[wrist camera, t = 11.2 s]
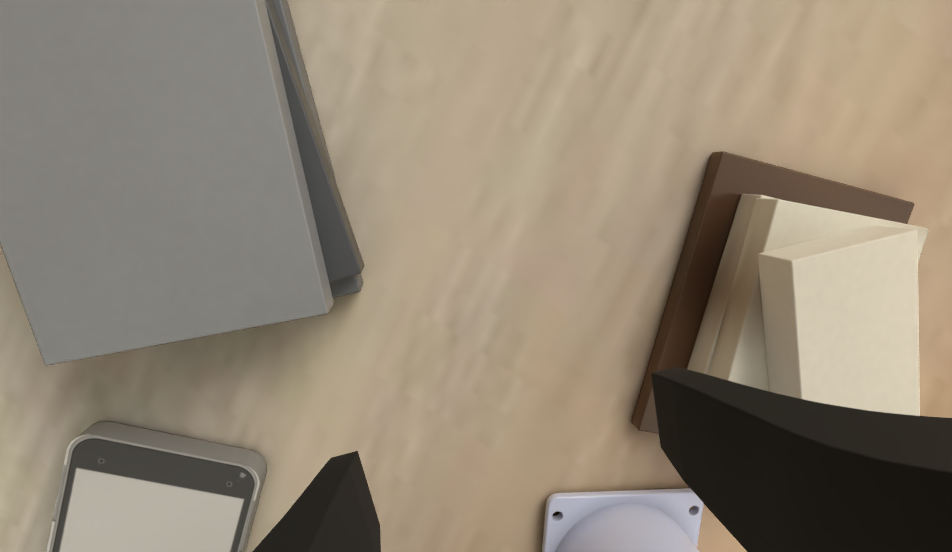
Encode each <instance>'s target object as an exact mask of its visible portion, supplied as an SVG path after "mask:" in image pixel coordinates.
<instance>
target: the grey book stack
mask: <svg viewBox="0 0 952 552" xmlns="http://www.w3.org/2000/svg"><path fill="white" fill-rule="evenodd" d="M0 244H1V247H2V249H3V252H4V255H5V258H6V260H7V263H8V266H9V268H10V271H11V274H12V277H13V279H14V282H15V285H16V288H17V290H18V293H19V296H20V298H21V301H22V304H23V307H24V309H25V312H26V315H27V317H28V320H29V323H30V326H31V328H32V331H33V334H34V336H35V339H36V342H37V345H38V347H39V350H40V353H41V356H42V358H43V361H44V364H45V365H46V366H48V365H54V364H59V363H64V362H70V361H75V360H81V359H86V358H91V357H97V356H102V355H108V354H113V353H118V352H124V351H129V350H135V349H140V348H146V347H151V346H156V345H162V344H167V343H173V342H178V341H183V340H189V339H194V338H200V337H205V336H210V335H216V334H221V333H227V332H232V331H238V330H243V329H248V328H254V327H259V326H265V325H270V324H275V323H281V322H286V321H292V320H297V319H302V318H308V317H313V316H319V315H324V314H327V313H328V312H329V310H330V309H331V307H332V305H333V304H334V302H333V298H335V297H339V296H344V295H348V294H352V293H356V292H359V291H360V290H361V288H362V286H363V280H362V277H361V272H362V270H363V268H364V263H363V260H362V257H361V254H360V251H359V248H358V245H357V242H356V240H355V237H354V234H353V231H352V228H351V225H350V222H349V219H348V216H347V213H346V211H345V208H344V205H343V202H342V199H341V196H340V193H339V190H338V187H337V184H336V180H335V176H334V173H333V169H332V165H331V162H330V158H329V154H328V150H327V147H326V143H325V139H324V136H323V132H322V128H321V124H320V121H319V117H318V113H317V110H316V106H315V102H314V98H313V95H312V91H311V87H310V84H309V80H308V76H307V73H306V69H305V65H304V61H303V58H302V54H301V50H300V47H299V43H298V39H297V35H296V32H295V28H294V24H293V21H292V17H291V13H290V9H289V6H288V2H287V0H0Z"/></svg>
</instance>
